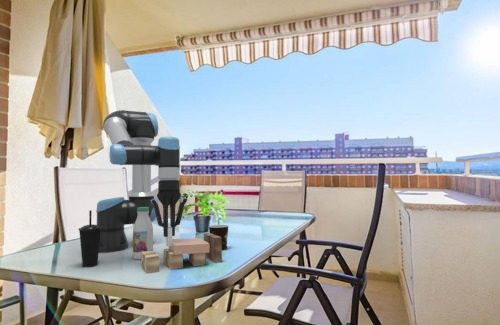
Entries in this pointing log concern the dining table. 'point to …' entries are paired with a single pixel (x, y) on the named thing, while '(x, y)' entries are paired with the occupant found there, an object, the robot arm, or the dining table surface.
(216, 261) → the brown wooden board
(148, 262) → the batten rear
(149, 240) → the milk bottle
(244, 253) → the dining table surface
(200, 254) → the batten
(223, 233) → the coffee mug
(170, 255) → the block
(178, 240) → the slab
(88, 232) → the drinking cup
